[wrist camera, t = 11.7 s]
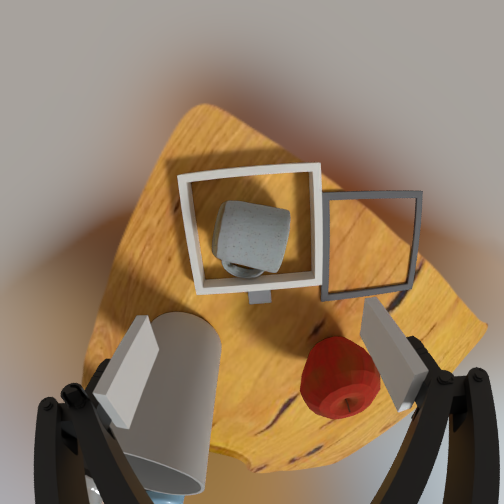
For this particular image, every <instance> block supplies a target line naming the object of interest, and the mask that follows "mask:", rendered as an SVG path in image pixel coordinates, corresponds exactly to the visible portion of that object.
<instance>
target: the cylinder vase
mask: <svg viewBox="0 0 504 504" xmlns="http://www.w3.org/2000/svg"><path fill="white" fill-rule="evenodd" d="M151 327H152V330H153V333H154V336H155V339H156V342H157V345H158V347H159V351H158V354H157V356H156V359H155V361H154V364H153V366H152V369H151V372H150V374H149V377H148V379H147V382H146V384H145V387H144V390H143V392H142V395H141V398H140V400H139V403H138V406H137V408H136V411H135V414H134V417H133V419H132V422H131V425H130V428H129V429H125V428H120V427H116V426H115V424H114V423H113V422H112V421H111V424H110V427H111V429H112V430H113V432H114V435H115V437H116V439H117V441H118V443H119V445H120V447H121V449H122V451H123V453H124V455H125V456H126V458H127V460H128V462H129V464H130V466H131V467H132V469H133V471H134V473H135V474H136V476H137V478H138V479H139V481H140V483H141V484H142V486H143V488H144V489H147V490H151V491H155V492H159V493H165V494H171V495H194V494H199V493H201V492H203V491H204V488H205V479H206V470H207V460H208V452H209V443H210V435H211V427H212V418H213V410H214V402H215V394H216V387H217V379H218V371H219V364H220V356H221V341H220V338H219V336H218V334H217V332H216V331H215V329H214V328H213V327H212V326H211V325H210V324H209V323H207V322H206V321H205V320H203V319H201V318H200V317H198V316H195V315H193V314H189V313H185V312H169V313H165V314H162V315H160V316H158V317H157V318H156V319H154V320H153V321H152V323H151Z"/></svg>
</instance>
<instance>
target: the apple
mask: <svg viewBox="0 0 504 504" xmlns="http://www.w3.org/2000/svg"><path fill="white" fill-rule="evenodd" d="M379 390H380V373H379V371H378V369H377V367H376V365H375V363H374V361H373V359H372V357H371V356H370V355H369V354H368V353H367V352H366V351H365V349H364V348H362V347H360V346H359V345H357V344H356V343H354V342H352V341H351V340H349V339H347V338H345V337H337V336H334V337H330V338H326V339H324V340H322V341H321V342H319V343H317V344H316V345H315V346H314V347H313V349H312V350H311V351H310V353H309V356H308V359H307V361H306V364H305V367H304V370H303V373H302V378H301V386H300V392H301V395H302V397H303V400H304V401H305V403H306V404H307V406H308V407H309V409H311V410H312V411H313V412H314V413H316V414H317V415H320V416H323V417H326V418H330V419H341V418H346V417H350V416H353V415H355V414H358V413H360V412H362V411H363V410H365V409H366V408H367V407H368V406H369V405H370V404H371V403H372V401H373V400H374V398H375V397H376V395H377V394H378V392H379Z"/></svg>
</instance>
